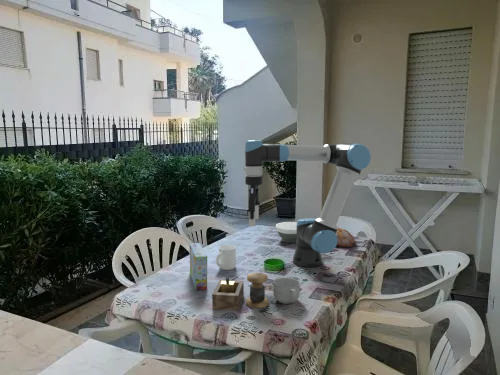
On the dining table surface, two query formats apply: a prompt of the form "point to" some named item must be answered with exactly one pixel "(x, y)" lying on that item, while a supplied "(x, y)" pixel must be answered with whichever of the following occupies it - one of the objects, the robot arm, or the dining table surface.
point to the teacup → (286, 290)
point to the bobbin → (257, 291)
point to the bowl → (287, 231)
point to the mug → (226, 257)
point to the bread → (344, 238)
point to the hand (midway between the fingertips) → (254, 222)
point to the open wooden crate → (228, 297)
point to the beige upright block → (227, 286)
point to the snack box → (198, 266)
